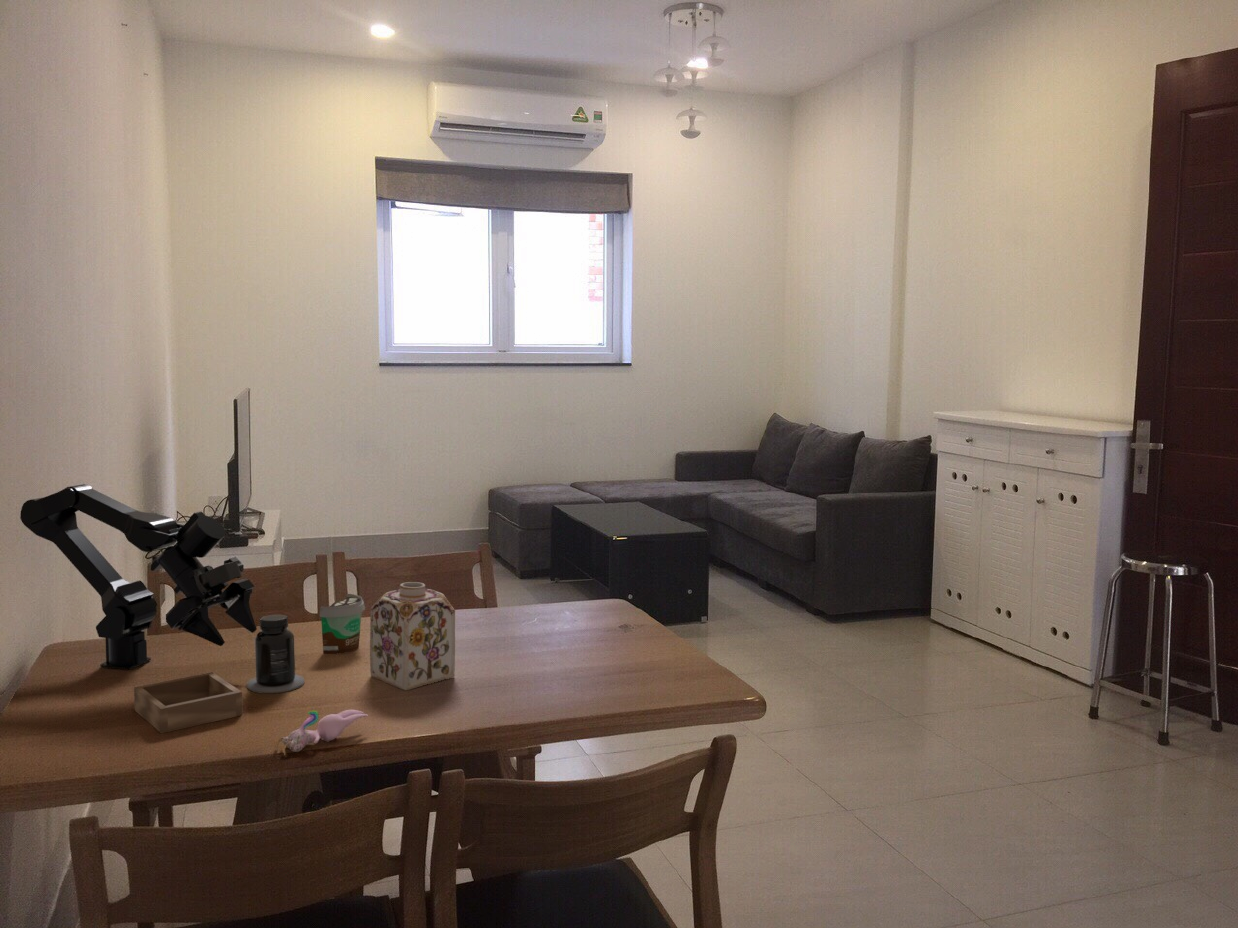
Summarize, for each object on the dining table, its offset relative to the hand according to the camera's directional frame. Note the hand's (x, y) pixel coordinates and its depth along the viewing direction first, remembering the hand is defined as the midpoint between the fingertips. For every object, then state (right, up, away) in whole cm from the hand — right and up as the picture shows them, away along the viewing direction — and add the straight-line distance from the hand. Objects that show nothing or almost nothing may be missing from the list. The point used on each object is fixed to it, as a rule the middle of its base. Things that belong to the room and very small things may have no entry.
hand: (239, 637), depth 186 cm
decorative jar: (+31, -9, +5) cm, 33 cm away
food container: (+14, -6, +22) cm, 27 cm away
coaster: (+7, -8, -1) cm, 11 cm away
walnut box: (-2, -10, -17) cm, 19 cm away
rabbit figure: (+23, -12, -27) cm, 38 cm away
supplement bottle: (+7, -8, -1) cm, 11 cm away
